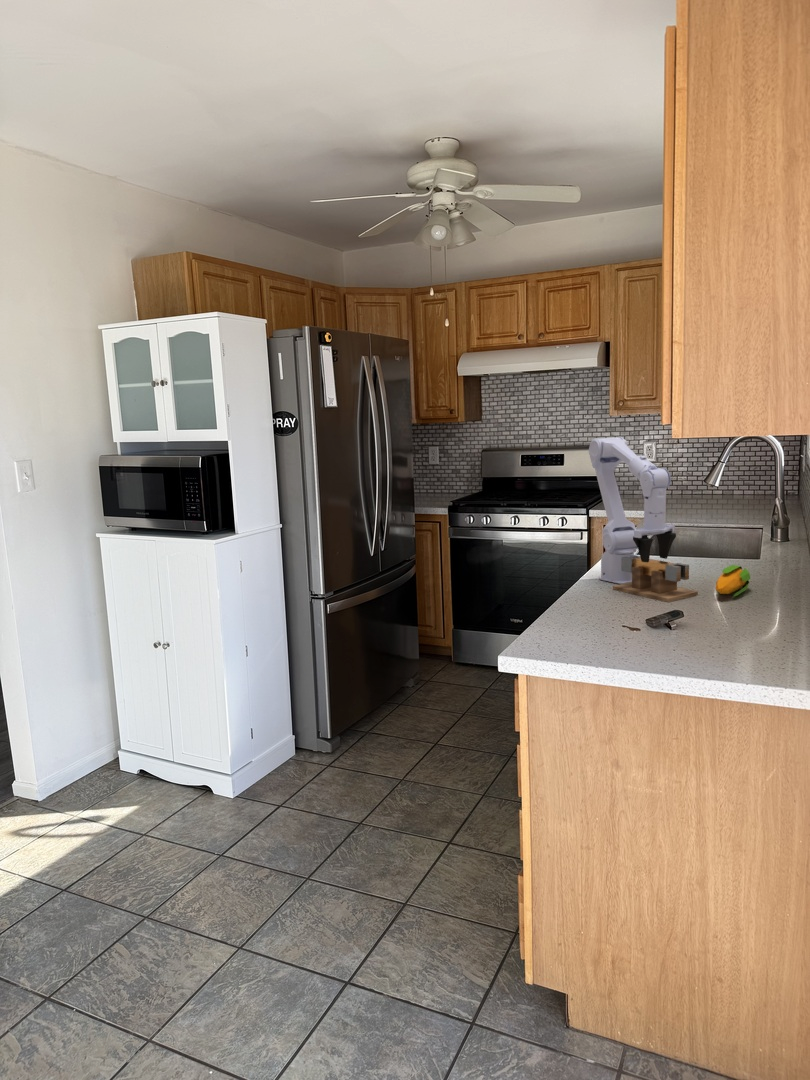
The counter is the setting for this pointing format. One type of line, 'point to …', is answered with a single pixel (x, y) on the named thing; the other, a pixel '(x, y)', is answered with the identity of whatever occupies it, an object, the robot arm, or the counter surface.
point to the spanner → (656, 568)
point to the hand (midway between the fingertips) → (654, 560)
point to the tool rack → (654, 586)
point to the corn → (733, 580)
